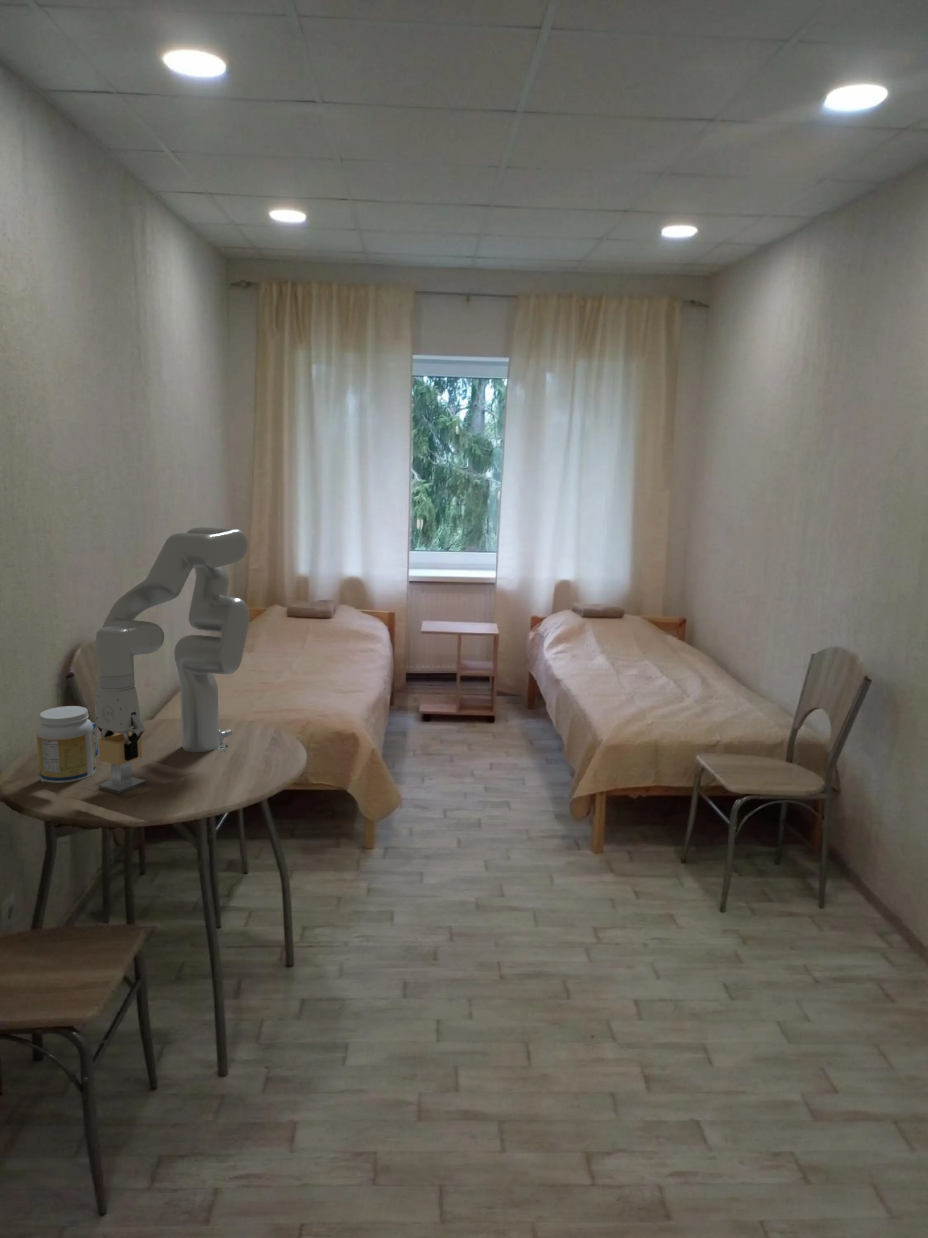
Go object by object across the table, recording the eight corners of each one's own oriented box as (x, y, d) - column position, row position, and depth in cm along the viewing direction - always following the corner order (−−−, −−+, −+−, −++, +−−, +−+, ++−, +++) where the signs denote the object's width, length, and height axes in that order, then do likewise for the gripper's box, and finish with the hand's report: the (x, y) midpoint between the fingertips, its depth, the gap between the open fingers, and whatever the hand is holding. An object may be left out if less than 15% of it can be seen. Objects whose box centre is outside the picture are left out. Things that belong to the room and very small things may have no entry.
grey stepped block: (124, 778, 196) (123, 754, 195) (145, 784, 193) (144, 760, 192) (98, 788, 190) (97, 763, 189) (120, 794, 187) (118, 769, 186)
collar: (123, 752, 195) (122, 731, 194) (141, 757, 192) (140, 736, 191) (99, 760, 189) (98, 739, 188) (118, 765, 186) (117, 744, 185)
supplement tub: (58, 769, 206) (53, 703, 203) (105, 771, 205) (101, 705, 202) (29, 787, 194) (24, 718, 191) (80, 789, 193) (75, 720, 190)
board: (153, 767, 208) (153, 761, 208) (193, 778, 202) (193, 772, 201) (84, 793, 191) (83, 787, 191) (125, 806, 184) (125, 800, 184)
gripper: (77, 679, 188) (82, 754, 191) (129, 690, 180) (133, 768, 183) (105, 672, 194) (109, 745, 198) (156, 682, 186) (160, 758, 190)
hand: (121, 755), depth 190 cm, fingers closed on collar, 6 cm apart
